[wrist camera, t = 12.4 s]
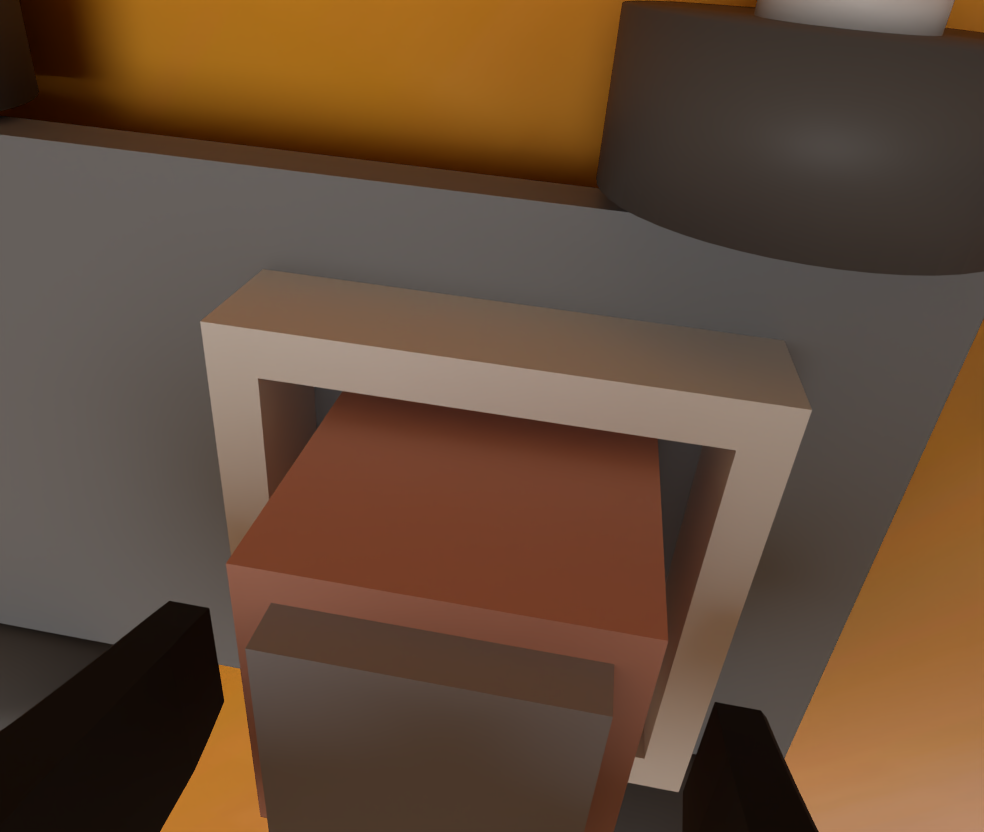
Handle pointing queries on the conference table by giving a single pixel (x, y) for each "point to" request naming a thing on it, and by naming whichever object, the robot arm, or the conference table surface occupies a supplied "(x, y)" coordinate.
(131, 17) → the conference table surface
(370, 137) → the conference table surface
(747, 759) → the robot arm
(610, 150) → the chassis
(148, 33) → the conference table surface
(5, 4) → the loose wheel
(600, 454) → the brown capped block
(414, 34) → the conference table surface
